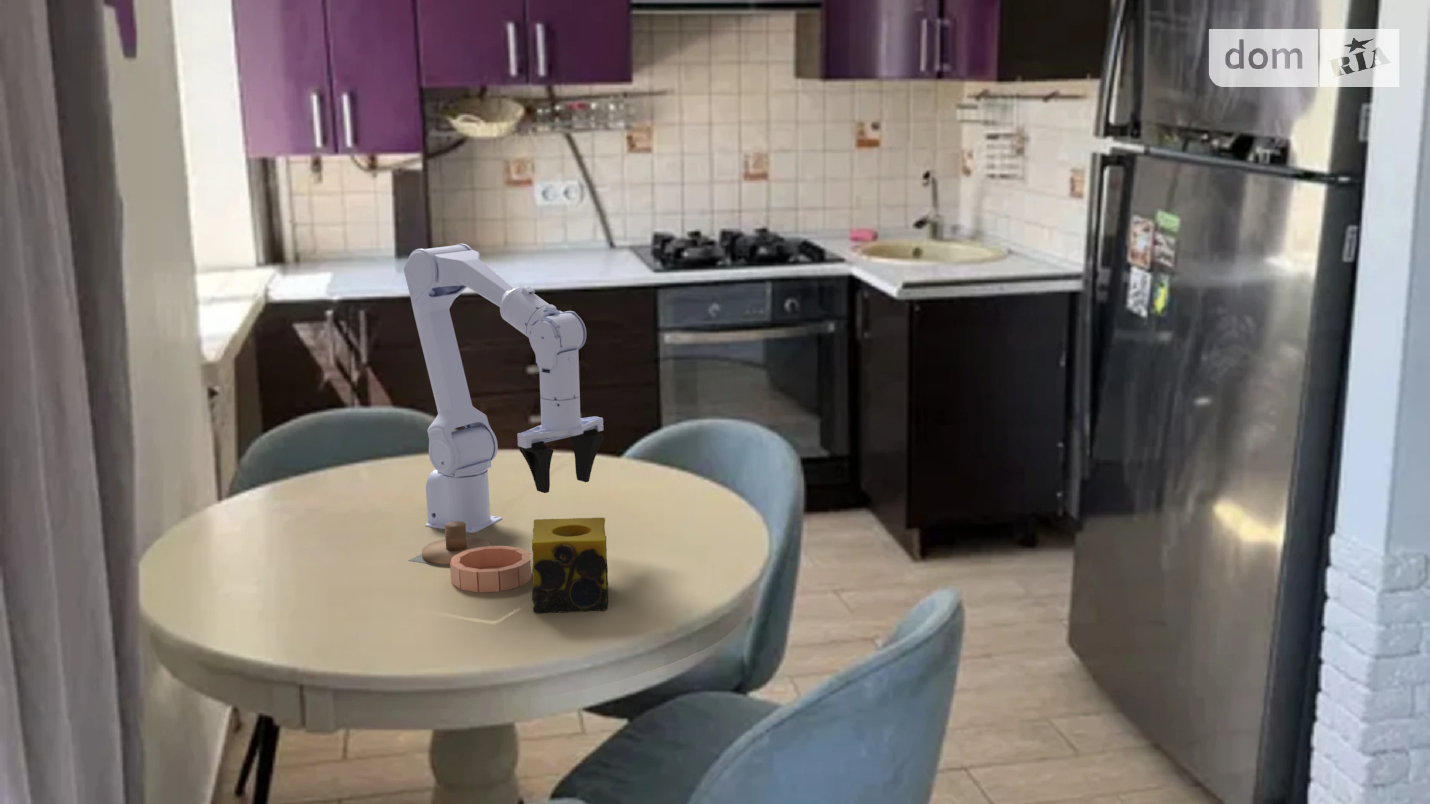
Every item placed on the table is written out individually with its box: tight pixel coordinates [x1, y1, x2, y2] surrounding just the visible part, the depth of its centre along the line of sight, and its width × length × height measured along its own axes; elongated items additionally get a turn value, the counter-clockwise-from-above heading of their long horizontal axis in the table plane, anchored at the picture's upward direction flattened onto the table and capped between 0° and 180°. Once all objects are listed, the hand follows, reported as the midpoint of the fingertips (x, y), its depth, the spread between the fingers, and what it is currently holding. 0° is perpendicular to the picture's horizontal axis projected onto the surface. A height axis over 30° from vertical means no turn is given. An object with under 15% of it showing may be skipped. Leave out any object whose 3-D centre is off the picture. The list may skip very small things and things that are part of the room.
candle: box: [531, 517, 609, 614], centre depth 184 cm, size 10×10×10 cm
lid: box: [421, 521, 492, 567], centre depth 202 cm, size 10×10×5 cm
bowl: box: [449, 545, 533, 593], centre depth 192 cm, size 11×11×3 cm
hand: (563, 486), depth 203 cm, fingers open, 7 cm apart
